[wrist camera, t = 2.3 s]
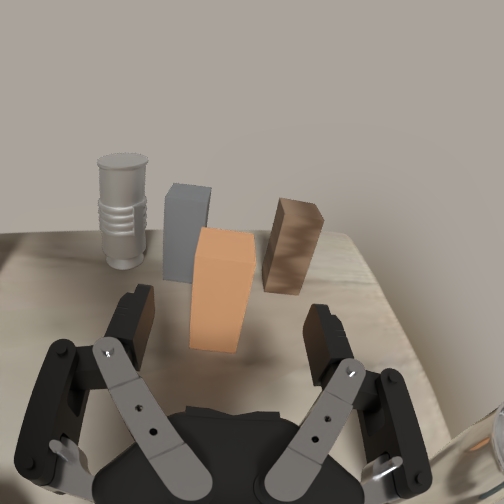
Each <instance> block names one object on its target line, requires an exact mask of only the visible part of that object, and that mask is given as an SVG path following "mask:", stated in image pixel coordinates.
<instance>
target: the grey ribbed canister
mask: <svg viewBox="0 0 504 504" xmlns="http://www.w3.org/2000/svg"><path fill="white" fill-rule="evenodd" d="M147 163H148V158H147V157H146V156H144V155H141V154H136V153H117V154H110V155H106V156H103V157H101V158H99V159H98V161H97V165H98V167H99V184H100V198H99V200H98V206H99V210H98V213H99V222H100V230H101V232H102V250H103V252H104V253H105V254H106V255H107V257H106V261H107V263H108V264H109V265H110V266H111V267H113V268H116V269H122V270H125V269H131V268H134V267H136V266H138V265H140V264H141V263H142V261H143V259H144V255H143V253H142V252H143V251H144V250H145V249H146V238H145V228H146V225H147V224H146V223H147V222H146V217H147V215H146V210H147V207H146V203H147V199H146V196H145V170H146V164H147Z"/></svg>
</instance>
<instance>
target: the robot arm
mask: <svg viewBox="0 0 504 504" xmlns="http://www.w3.org/2000/svg"><path fill="white" fill-rule="evenodd" d="M154 314H155V304H154V289H153V286H151V285H144V284H138V285H137V287H136V290H135V292H134V293H128V292H127V293H126V294H125V295H124V296H123V297H122V298H121V299H120V301H119V303H118V305H117V308H116V310H115V312H114V314H113V317H112V319H111V321H110V324H109V326H108V328H107V331H106V333H105V336H104V337H103V338H101V339H99V340H97V341H96V342H95V344H94V345H92V346H82V347H75V345H74V343H73V342H72V341H70V340H67V339H59V340H57V341H55V342H53V343H52V344H51V346H50V348H49V350H48V352H47V355H46V357H45V360H44V362H43V365H42V367H41V370H40V372H39V375H38V378H37V380H36V383H35V386H34V389H33V391H32V394H31V397H30V400H29V403H28V407H27V410H26V413H25V416H24V420H23V423H22V427H21V430H20V434H19V438H18V442H17V446H16V450H15V455H14V464H15V467H16V470H17V471H18V473H19V474H20V475H21V476H23V477H24V478H26V479H28V480H29V481H31V482H32V483H34V484H35V485H37V486H39V487H41V488H43V489H46V490H48V491H51V492H54V493H56V494H59V495H63V494H69V495H72V496H75V497H78V498H81V499H84V500H88V501H91V502H94V503H95V504H398V503H400V502H403V501H405V500H408V499H410V498H413V497H415V496H418V495H420V494H422V493H424V492H426V491H427V490H428V489H429V488H430V487H431V485H432V481H433V476H432V472H431V468H430V463H429V459H428V456H427V452H426V448H425V444H424V441H423V437H422V434H421V430H420V427H419V424H418V420H417V417H416V414H415V411H414V408H413V405H412V402H411V399H410V396H409V393H408V390H407V387H406V384H405V381H404V378H403V376H402V375H401V374H400V373H399V372H398V371H397V370H395V369H392V368H387V369H384V370H383V371H382V372H381V374H379V373H375V372H371V371H367V370H365V368H364V366H363V364H362V363H360V362H359V361H358V360H355V359H354V356H353V353H352V350H351V348H350V345H349V342H348V339H347V337H346V334H345V331H344V328H343V325H342V323H341V321H340V320H339V319H338V318H337V316H336V315H331V313H330V310H329V307H328V305H324V304H312V305H311V308H310V310H309V313H308V315H307V318H306V320H305V323H304V326H303V338H304V343H305V347H306V352H307V356H308V361H309V366H310V370H311V375H312V380H313V385H314V386H321V387H322V391H321V393H320V394H319V396H318V398H317V399H316V401H315V402H314V404H313V405H312V407H311V409H310V410H309V412H308V413H307V415H306V416H305V418H304V419H303V420H302V422H301V423H300V424H299V426H298V425H296V424H294V423H293V422H291V421H289V420H286V419H283V418H280V413H279V412H260V411H257V412H252V413H246V414H241V415H229V414H226V413H222V412H219V411H216V410H213V409H209V408H199V407H191V406H186V412H180V413H175V414H172V415H170V416H168V417H166V416H165V414H164V412H163V411H162V409H161V408H160V406H159V405H158V403H157V402H156V400H155V398H154V397H153V395H152V393H151V392H150V390H149V389H148V387H147V385H146V383H145V382H144V380H143V379H142V377H139V376H138V374H137V372H136V371H140V368H141V364H142V360H143V356H144V352H145V349H146V345H147V341H148V338H149V334H150V331H151V327H152V324H153V320H154ZM92 389H108V391H109V393H110V395H111V397H112V399H113V401H114V403H115V405H116V407H117V409H118V411H119V413H120V415H121V417H122V419H123V420H124V422H125V424H126V426H127V428H128V430H129V432H130V433H131V435H132V437H133V439H134V440H135V443H133V444H132V445H131V446H130V447H129V448H127V449H126V450H125V451H124V452H122V453H121V454H120V455H119V456H117V457H116V458H115V459H114V460H112V461H111V462H110V463H108V464H107V465H106V466H105V467H103V468H102V469H101V470H100V471H99V472H98V473H97V474H96V475H95V477H94V476H92V475H91V473H90V472H89V469H88V461H87V457H86V455H85V453H84V452H83V451H82V450H81V449H80V448H79V447H78V442H79V437H80V432H81V427H82V422H83V417H84V413H85V408H86V404H87V400H88V396H89V392H90V390H92ZM352 409H357V412H358V417H359V422H360V427H361V432H362V437H363V442H364V448H365V453H366V459H367V465H366V466H365V467H364V468H363V470H362V475H361V482H359V481H358V480H357V479H356V478H355V477H354V476H352V475H351V474H350V473H349V472H348V471H347V470H346V469H344V468H343V467H342V466H341V465H340V464H339V463H338V462H337V461H335V460H334V459H333V458H332V457H331V456H330V455H329V454H328V453H329V451H330V450H331V448H332V446H333V445H334V443H335V441H336V439H337V437H338V436H339V434H340V432H341V430H342V428H343V426H344V424H345V422H346V420H347V418H348V417H349V415H350V413H351V411H352Z"/></svg>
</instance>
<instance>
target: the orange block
mask: <svg viewBox="0 0 504 504" xmlns="http://www.w3.org/2000/svg"><path fill="white" fill-rule="evenodd" d="M255 267H256V255H255V244H254V234H251V233H244V232H237V231H229V230H222V229H214V228H207V227H202V228H201V232H200V236H199V241H198V245H197V249H196V254H195V262H194V274H193V288H192V304H191V322H190V344H189V348H193V349H201V350H209V351H218V352H228V353H236V349H237V344H238V340H239V336H240V332H241V327H242V323H243V319H244V315H245V310H246V306H247V302H248V297H249V293H250V289H251V285H252V280H253V276H254V272H255Z"/></svg>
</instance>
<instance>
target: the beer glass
mask: <svg viewBox="0 0 504 504" xmlns="http://www.w3.org/2000/svg"><path fill="white" fill-rule="evenodd" d="M429 463H430V468H431V472H432V476H433V481H432V485H431V487H430V488H429V489H428V490H427V491H426V492H424V493H422V494H420V495H418V496H415V497H413V498H410V499H408V500H405V501H403V502H400V503H398V504H494V503H496V502H498V501H500V500H502V499H503V498H504V402H503V403H502V404H501V405H500V406H498V407H497V408H496V409H495V410H493V411H492V412H490V413H489V414H488V415H486V416H485V417H483V418H482V419H480V420H479V421H478V422H476V423H475V424H473V425H472V426H471V427H469V428H468V429H466V430H465V431H464V432H462V433H461V434H459V435H458V436H457V437H456V438H454V439H453V440H452V441H450V442H449V443H448V444H446V445H445V446H444V447H443V448H442V449H441V450H439V451H438V452H437V453H436V454H435V455H434V456H433V457H431V458H430V459H429Z"/></svg>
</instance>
